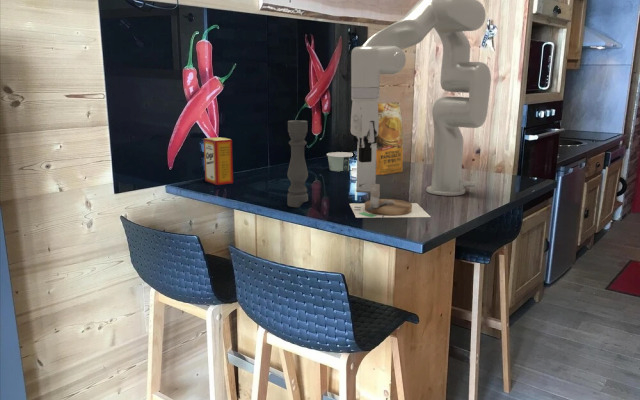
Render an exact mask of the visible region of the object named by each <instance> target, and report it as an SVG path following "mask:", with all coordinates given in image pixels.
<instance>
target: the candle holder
mask: <svg viewBox="0 0 640 400" xmlns="http://www.w3.org/2000/svg"><path fill="white" fill-rule="evenodd" d="M287 133H288V135H289V138H290V141H288V144H289V145H290V160H289V164H288V169H287V173H286V174H287V178H288V180H289V181H290V186H289V187H288V189H287V190H288V192H287V201H286V202H287V206H288V207H291V208H300V207H301V206H302V205H303V204H305V202H308V201H309V193H307V192H308V188H307V187H306V185H305V184H306V181H307V179H308V177H309V172H308V171H309V170H308V166H307V163H306V158H305V146H306V145H307V144H308V143H307V141H306V136H307V133H308V120H303V119H302V120H297V119H296V120H295V119H294V120H288V121H287Z"/></svg>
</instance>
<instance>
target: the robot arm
mask: <svg viewBox="0 0 640 400" xmlns="http://www.w3.org/2000/svg"><path fill="white" fill-rule="evenodd" d="M486 14H487V13H486V10H485V7H484V5H483V4H482V3H481V2H480V1H479V0H418V1H417V2H416V3H415V4H414V5H413V6H412V7H411V8H410V9H409V11H408V12H406V13H405V14H404V15H403V16H402V18H401V19H400V20H398V21H396V22H394V23H392V24H389V25H388V26H386V27H385V28H383V29H381V30H379V31H377V32H376V33H374V34H373V35H372V36H370V37H369V38H368V39H367V40H366V41H365V42H364V43H363V44H362V45H361V46H355V47H353V49H352V50H351V59H350V61H351V63H350V64H351V68H350V70H351V71H350V73H351V82H350V85H351V89H350V90H351V92H350V93H351V102H352V103H351V113H350V133H351V135H353V136H355V137H356V139H357V143H358V144H357V145H358V146H359V161H360V162H362V163H363V162H371V161H372V143H373V142H374V137H376V136H377V135H378V130H379V118H378V103H379V102H378V101H379V100H380V82H381V81H380V79H381V78H380V77H381V76H380V75H395V74H397V73H399V72H401V71H402V70H403V68H404V67H405V65H406V61H407V60H406V54H405V52H404V51H403V49H407V48H408V49H409V48H410V47H414V46H416V45H418V44H419V43H421V42H422V41H423V40H424V38H426V36H427V35H428V34H429V33H430V32H431V31H432V30H433V29H434V30H435V31H436V33H437V34H438V36H439V39H440V42H441V44H442V59H441V69H440V81H439V83H440V87H441V89H442V90H444V91H446V92H447V93H448V92H449V93H464V94H465V93H466V94H467V93H468V96H442V97H440V98H438V99H437V100H436V101H435V102H434V103H433V106H432V110H431V112H432V115H431V116H432V121H433V148H432V149H433V150H432V153H433V155H432V169H431V171H432V173H431V185H429V186H426V192H427V193H429V194H432V195H437V196H444V197H445V196H447V197H449V196H451V197H452V196H453V197H454V196H462V195H464V194H465V193H466V188H475V187H476V181H469V180H464V179H463V178H462V167H463V152H464V136H463V134H462V132H461V130H460V128H464V129H465V128H468V129H477V128H479V127H482V126H483V125H484V124H485V122H486V119H487V116H488V111H489V110H488V108H489V101H490V95H491V94H490V92H491V84H492V82H491V81H492V76H491V75H492V73H491V71H490V68H489V66H488V65H487V63H484V62H480V61H470V60H471V59H470V57H471V45H470V41H469V39H468V37H467V35H466V34H465V33H464V32H474V31H477V30H479V29H480V28H482V27H483V25H484V23H485V21H486Z"/></svg>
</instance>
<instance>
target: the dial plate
mask: <svg viewBox="0 0 640 400" xmlns="http://www.w3.org/2000/svg"><path fill="white" fill-rule="evenodd" d="M410 203H411V202H410ZM411 204H412V211H411V212H410V213H407V214H402V215H381V214H375V213H371V212H368V211H366V210H365V202H364V203H349V206H350V208H351V210H352V213H353V214H354V217H355V218H357V219H358V218H359V219H360V218H371V219H373V218H431V215H430V214H429V213H428V212H426V210H424V209H423V207H421V206H420V205H419V204H418V203H417V202H412V203H411Z"/></svg>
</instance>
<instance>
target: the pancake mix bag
mask: <svg viewBox="0 0 640 400" xmlns="http://www.w3.org/2000/svg"><path fill="white" fill-rule="evenodd" d="M378 118H379V130H378V135H377V140H376V141H377V142H376V143H377V144H376V145H377V147H376V176H386V175H393V174H399V173H400V174H401V173H403V171H404V167H403V165H404V164H403V163H404V162H403V161H404V124H403V117H402V108H401V104H400V103H399V102H378Z"/></svg>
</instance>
